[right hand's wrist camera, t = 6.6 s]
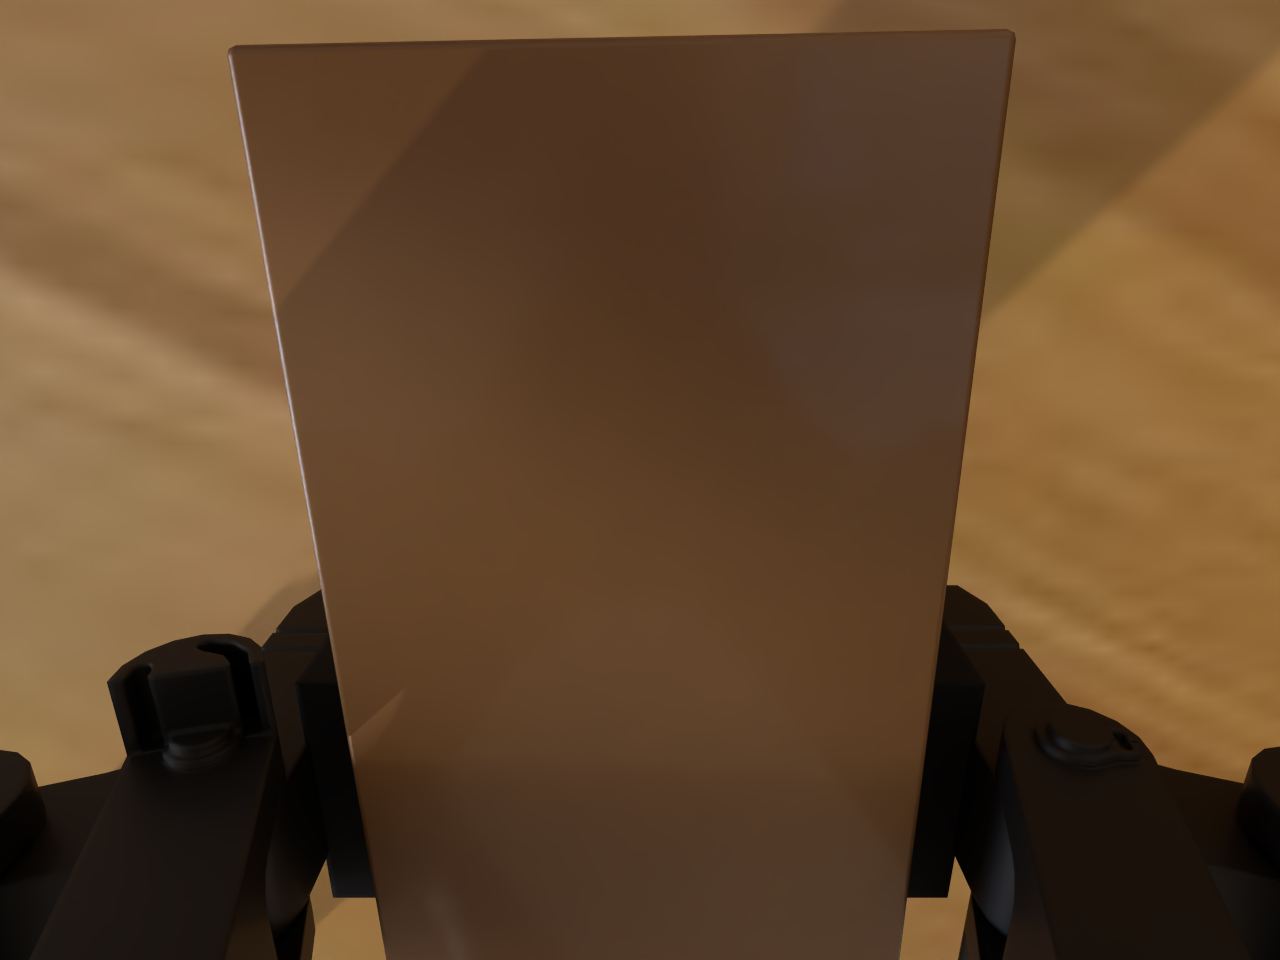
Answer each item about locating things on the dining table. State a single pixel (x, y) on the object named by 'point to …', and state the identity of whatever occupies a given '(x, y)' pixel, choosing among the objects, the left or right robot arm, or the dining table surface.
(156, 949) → the right robot arm
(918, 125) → the bar
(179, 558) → the dining table surface
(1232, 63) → the dining table surface
